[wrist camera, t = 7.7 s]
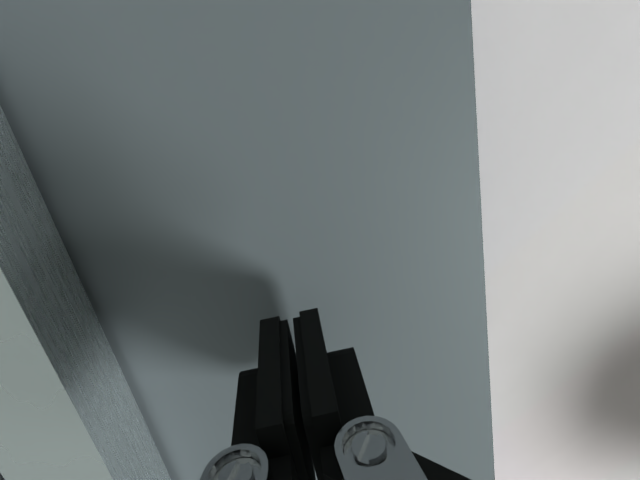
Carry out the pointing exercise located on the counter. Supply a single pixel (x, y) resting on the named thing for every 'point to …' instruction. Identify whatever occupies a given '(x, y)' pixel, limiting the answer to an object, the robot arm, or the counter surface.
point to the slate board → (265, 198)
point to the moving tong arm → (57, 354)
